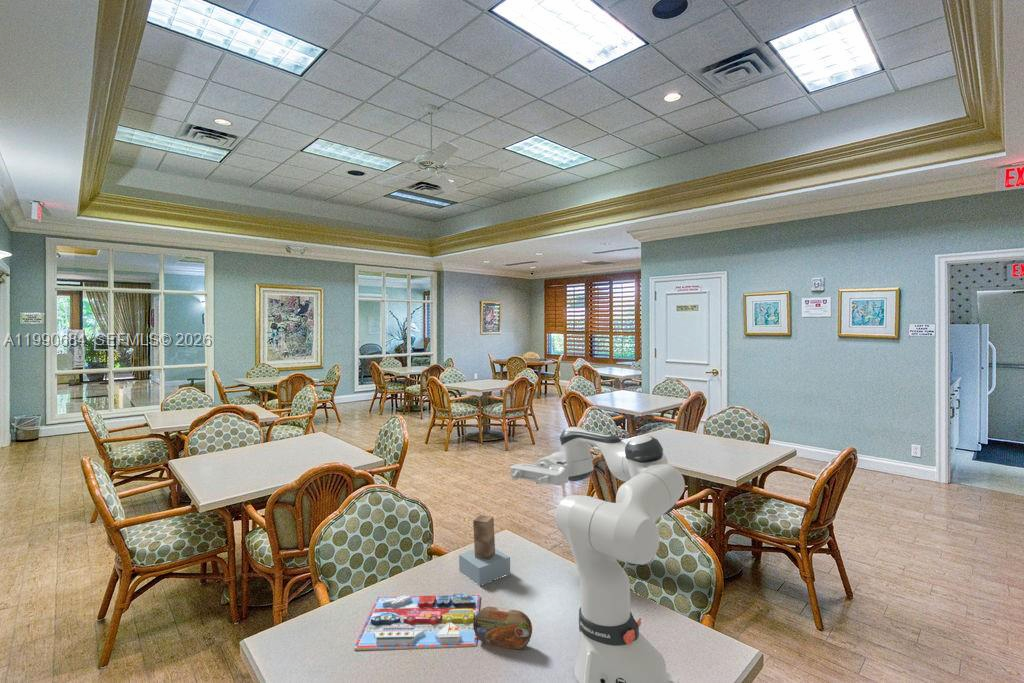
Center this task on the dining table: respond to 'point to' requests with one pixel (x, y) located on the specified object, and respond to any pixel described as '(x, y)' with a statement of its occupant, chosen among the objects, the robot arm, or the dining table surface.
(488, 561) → the grey box
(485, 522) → the walnut block
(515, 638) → the tin
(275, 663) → the dining table surface
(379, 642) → the puzzle board
